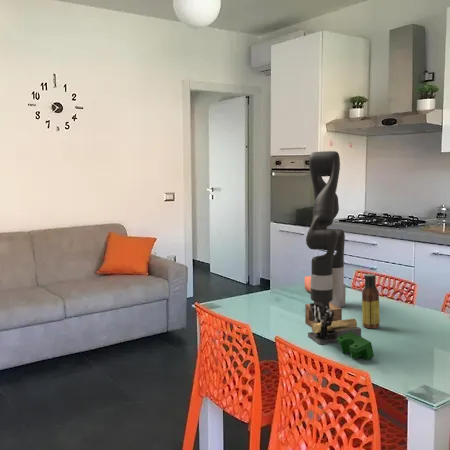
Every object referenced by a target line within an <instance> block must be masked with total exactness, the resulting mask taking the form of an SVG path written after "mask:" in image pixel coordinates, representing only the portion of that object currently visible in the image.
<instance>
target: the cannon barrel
mask: <svg viewBox="0 0 450 450" xmlns="http://www.w3.org/2000/svg"><path fill="white" fill-rule="evenodd" d="M351 327H358V322H357V319H355V318H349V319H342V320H338V321H332V324H331V326H328V327H327V331H333V330H335V329H343V328H351ZM311 330H312V331H311V332H314V333H317V332H321V323H313V324H312V327H311Z"/></svg>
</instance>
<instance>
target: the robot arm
mask: <svg viewBox="0 0 450 450" xmlns="http://www.w3.org/2000/svg"><path fill="white" fill-rule="evenodd" d="M308 168H309V173H310V178H311V182H312V187H313V188H312V189H313V195H314V196H313V197H314V200H313V201H314V203H313V212H312V220H311V224H310V227H309V229H308V231H307V234H306V238H305V242H306V243H305V244H306V245H307V247H308V248H309V249H310V250H313V251H314V250H315V251H316V250H320V251H321V250H322V251H326V252H325V253H324V254H322V255H317V256H313V257H312V259H311V275H310V276H311V292H310V300H311V301H313V302H310V303H309V304H310V308H311V313H312V319H313V320H315V323H321V332H317V333H316V334H321V337H327V327H328V326H331V324H332V320H333V316H334V312H333V311H332V312H331V311H330V310H329V309H330V306H329V302H330V303H332V304H334V305H336V306H338V307H340V308H343V307H346V296H347V295H346V292H347V291H346V290H347V289H346V284H345V283H344V280H345V279H344V278H345V261H344V260H345V258H344V257H345V255H344V254H345V243H346V240H345V239H346V234H345V231H344V230H343V229H341V228H328V227H329V226H331V225H333V223H334V219H335V218H337V216H338V214H339V211H340V206H339V197H338V194H337V193H336V192H337V188H338V182H339V176H340V172H341V171H340V169H341V158H340V154H339V152H338V151H335V150H333V151H332V150H328V151H325V150H324V151H313V152H311V153H310V155H309V158H308ZM323 177H324V178H325V177H329V178H328V181H327V182H326V181H325V180H324V179H323ZM324 316H325V317H324ZM323 320H324V322H323ZM328 321H329V322H328Z"/></svg>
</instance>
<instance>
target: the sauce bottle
mask: <svg viewBox="0 0 450 450" xmlns="http://www.w3.org/2000/svg"><path fill="white" fill-rule="evenodd" d="M363 276H364V277H363V278H364V287H363V289H362V290H361V296H362V297H361V310H362V311H361V312H362V314H361V316H362V320H361V321H362V325H363V327H364V328H366V329H372V330H375V329H379V327H380V323H381V320H380V317H381V316H380V297H379V295H380V293H379V290H378V289H377V286H376V285H377V284H376V278H377V277H376V274H374V273H365V274H364V275H363Z"/></svg>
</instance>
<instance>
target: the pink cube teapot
mask: <svg viewBox="0 0 450 450" xmlns="http://www.w3.org/2000/svg"><path fill="white" fill-rule="evenodd" d="M304 290H306V291H307V292H309V293H311V275H310V276H309V275H308V276H307V275H306V276H304Z"/></svg>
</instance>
